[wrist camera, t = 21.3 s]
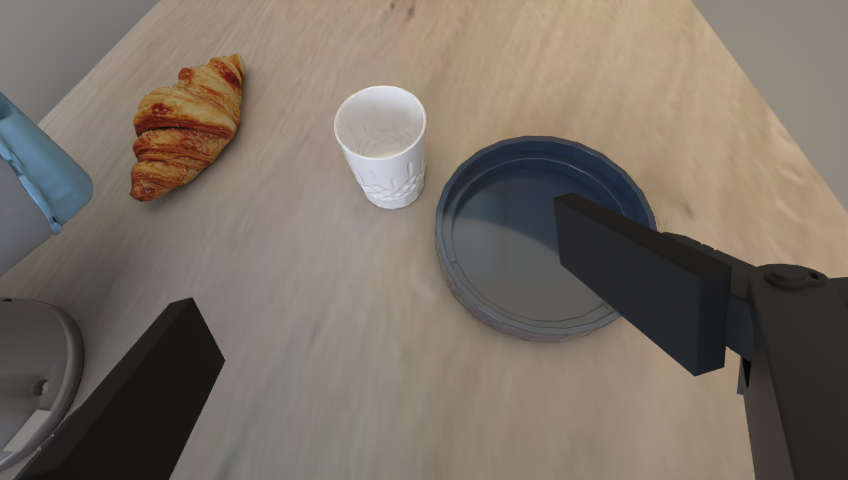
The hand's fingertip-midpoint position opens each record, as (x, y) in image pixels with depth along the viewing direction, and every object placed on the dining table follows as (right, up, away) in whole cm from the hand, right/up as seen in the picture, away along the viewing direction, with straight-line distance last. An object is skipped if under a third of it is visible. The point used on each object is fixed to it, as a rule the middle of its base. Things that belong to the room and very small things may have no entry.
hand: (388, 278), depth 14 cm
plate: (+12, +1, +25) cm, 28 cm away
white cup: (-2, +8, +29) cm, 30 cm away
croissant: (-24, +14, +32) cm, 43 cm away
